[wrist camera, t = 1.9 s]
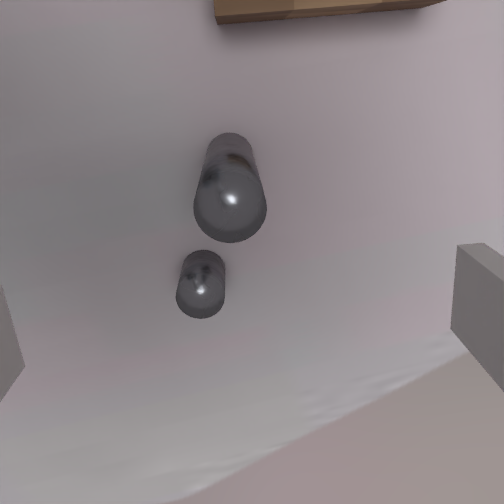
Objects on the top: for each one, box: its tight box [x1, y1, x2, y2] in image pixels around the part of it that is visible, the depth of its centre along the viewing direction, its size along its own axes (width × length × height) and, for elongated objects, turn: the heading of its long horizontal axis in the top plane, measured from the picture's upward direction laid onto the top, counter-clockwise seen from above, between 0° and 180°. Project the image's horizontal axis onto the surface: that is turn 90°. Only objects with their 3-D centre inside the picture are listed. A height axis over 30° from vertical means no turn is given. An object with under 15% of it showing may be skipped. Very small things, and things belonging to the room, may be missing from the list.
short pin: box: [176, 250, 225, 319], centre depth 37 cm, size 4×4×5 cm
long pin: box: [194, 133, 267, 243], centre depth 29 cm, size 4×4×14 cm
